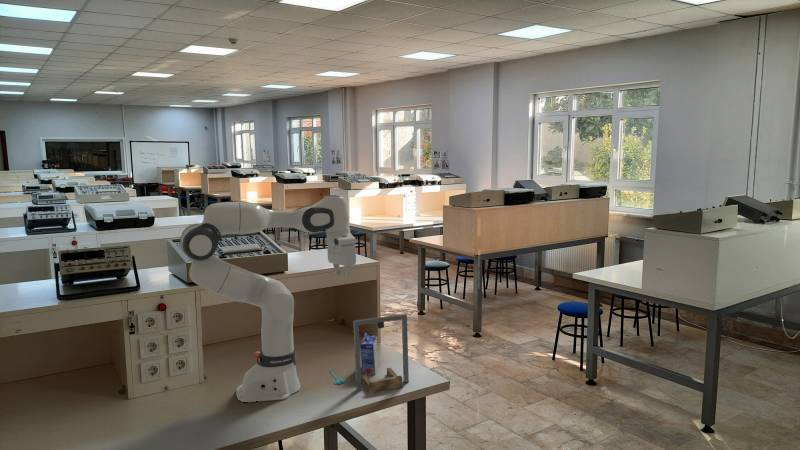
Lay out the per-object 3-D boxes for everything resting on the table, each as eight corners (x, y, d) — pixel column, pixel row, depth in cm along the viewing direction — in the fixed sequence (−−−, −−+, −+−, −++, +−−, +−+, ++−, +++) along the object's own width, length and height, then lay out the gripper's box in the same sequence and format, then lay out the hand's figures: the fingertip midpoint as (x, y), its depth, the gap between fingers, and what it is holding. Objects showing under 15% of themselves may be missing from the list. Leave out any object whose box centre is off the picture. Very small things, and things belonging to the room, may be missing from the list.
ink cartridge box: (365, 364, 221) (363, 329, 219) (379, 364, 220) (377, 329, 218) (361, 374, 211) (359, 338, 209) (375, 374, 210) (374, 338, 208)
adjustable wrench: (348, 381, 204) (335, 384, 202) (348, 383, 204) (335, 386, 202) (336, 368, 216) (324, 370, 214) (336, 370, 217) (324, 372, 215)
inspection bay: (370, 393, 194) (369, 382, 194) (360, 378, 207) (359, 368, 206) (402, 387, 198) (402, 377, 198) (390, 373, 211) (390, 363, 210)
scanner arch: (357, 391, 196) (354, 322, 193) (355, 388, 199) (353, 320, 195) (409, 382, 203) (407, 315, 199) (406, 380, 205) (405, 313, 201)
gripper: (321, 239, 211) (325, 275, 211) (340, 241, 192) (344, 280, 193) (337, 237, 213) (341, 272, 214) (357, 238, 195) (361, 277, 196)
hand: (343, 276), depth 203 cm, fingers open, 8 cm apart
